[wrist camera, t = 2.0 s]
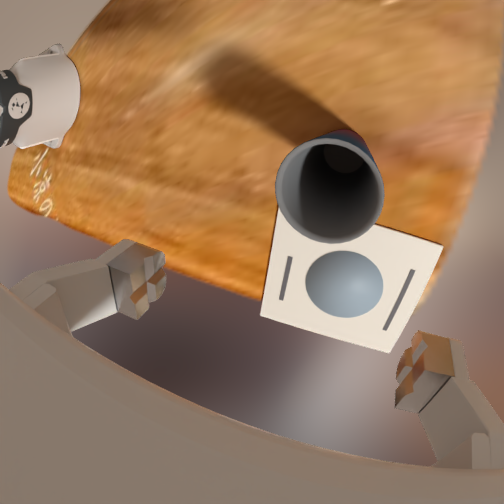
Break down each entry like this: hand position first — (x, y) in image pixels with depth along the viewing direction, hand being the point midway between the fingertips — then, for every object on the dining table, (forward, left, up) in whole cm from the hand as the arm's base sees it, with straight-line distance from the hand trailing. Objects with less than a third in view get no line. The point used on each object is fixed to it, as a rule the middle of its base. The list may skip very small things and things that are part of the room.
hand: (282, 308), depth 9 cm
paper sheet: (+4, -16, -26) cm, 31 cm away
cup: (0, 0, -26) cm, 26 cm away
